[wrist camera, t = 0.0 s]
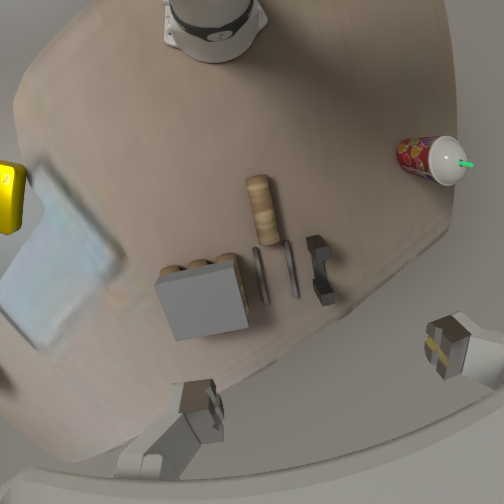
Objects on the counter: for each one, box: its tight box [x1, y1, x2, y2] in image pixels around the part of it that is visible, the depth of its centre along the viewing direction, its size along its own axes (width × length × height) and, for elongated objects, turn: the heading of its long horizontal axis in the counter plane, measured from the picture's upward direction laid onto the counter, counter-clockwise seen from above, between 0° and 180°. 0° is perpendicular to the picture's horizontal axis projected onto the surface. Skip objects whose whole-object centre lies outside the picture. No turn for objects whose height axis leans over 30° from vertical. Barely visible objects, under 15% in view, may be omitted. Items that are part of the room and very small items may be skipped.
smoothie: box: [397, 136, 473, 186], centre depth 46 cm, size 8×8×20 cm
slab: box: [155, 260, 249, 341], centre depth 56 cm, size 12×14×4 cm
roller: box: [245, 175, 280, 245], centre depth 56 cm, size 12×4×4 cm, turn 12°
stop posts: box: [306, 235, 335, 306], centre depth 58 cm, size 11×2×7 cm, turn 12°
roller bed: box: [160, 240, 298, 314], centre depth 60 cm, size 12×25×4 cm, turn 102°
